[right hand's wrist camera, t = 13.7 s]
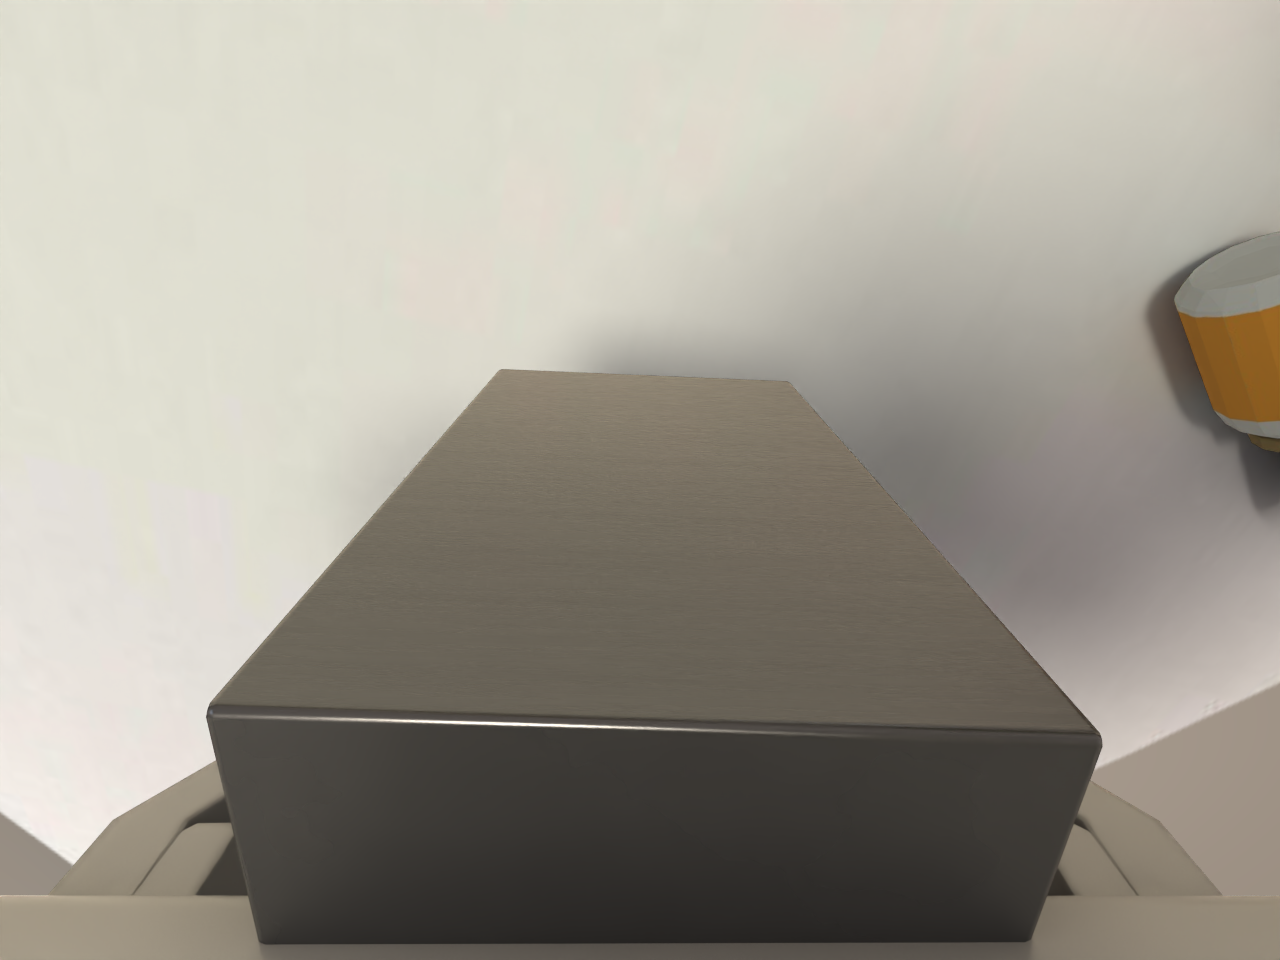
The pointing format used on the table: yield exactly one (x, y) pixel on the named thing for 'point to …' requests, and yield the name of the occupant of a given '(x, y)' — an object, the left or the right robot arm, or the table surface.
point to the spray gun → (1238, 335)
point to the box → (645, 697)
